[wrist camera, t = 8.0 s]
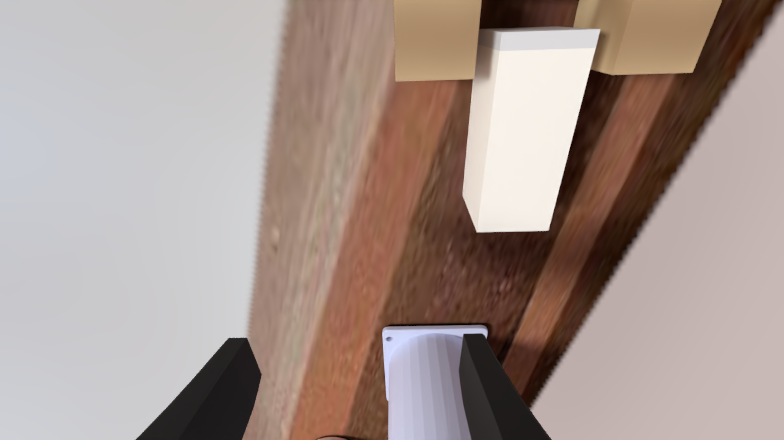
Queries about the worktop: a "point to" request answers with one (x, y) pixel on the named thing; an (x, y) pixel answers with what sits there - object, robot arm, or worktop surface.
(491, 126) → the white block
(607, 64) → the tan bridge
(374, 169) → the worktop surface
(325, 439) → the supplement bottle
